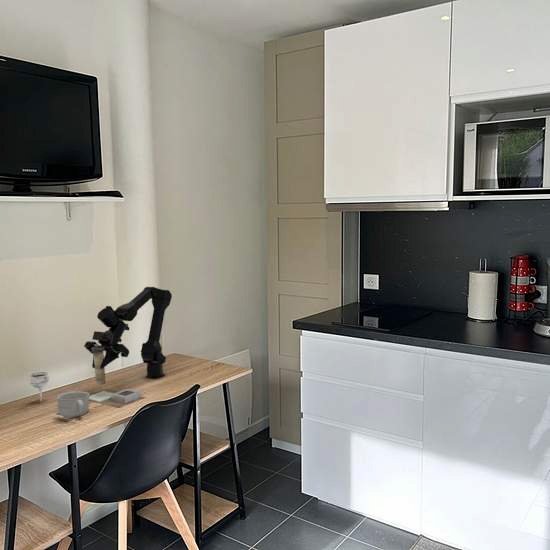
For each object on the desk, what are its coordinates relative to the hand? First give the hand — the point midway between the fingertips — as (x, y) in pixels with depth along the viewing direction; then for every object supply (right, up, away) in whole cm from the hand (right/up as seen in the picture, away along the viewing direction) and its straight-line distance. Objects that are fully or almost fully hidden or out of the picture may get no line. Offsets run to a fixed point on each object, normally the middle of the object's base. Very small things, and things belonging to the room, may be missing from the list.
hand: (97, 367), depth 212 cm
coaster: (+1, -12, +3) cm, 12 cm away
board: (+6, -13, +1) cm, 14 cm away
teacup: (-3, -15, -15) cm, 22 cm away
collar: (+12, -12, -1) cm, 17 cm away
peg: (+1, -6, +2) cm, 7 cm away
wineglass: (-21, -14, 0) cm, 26 cm away
